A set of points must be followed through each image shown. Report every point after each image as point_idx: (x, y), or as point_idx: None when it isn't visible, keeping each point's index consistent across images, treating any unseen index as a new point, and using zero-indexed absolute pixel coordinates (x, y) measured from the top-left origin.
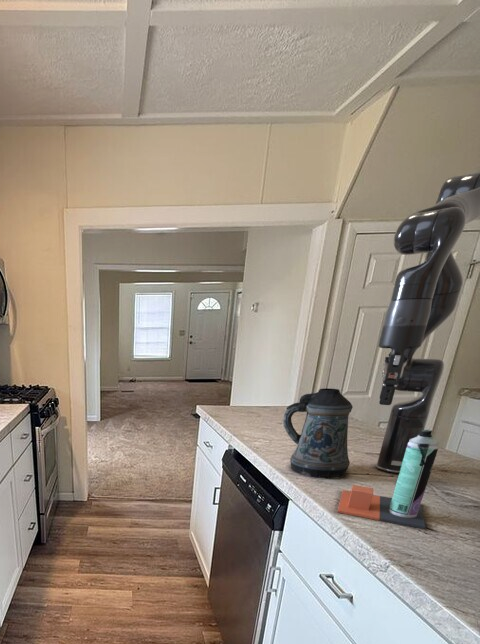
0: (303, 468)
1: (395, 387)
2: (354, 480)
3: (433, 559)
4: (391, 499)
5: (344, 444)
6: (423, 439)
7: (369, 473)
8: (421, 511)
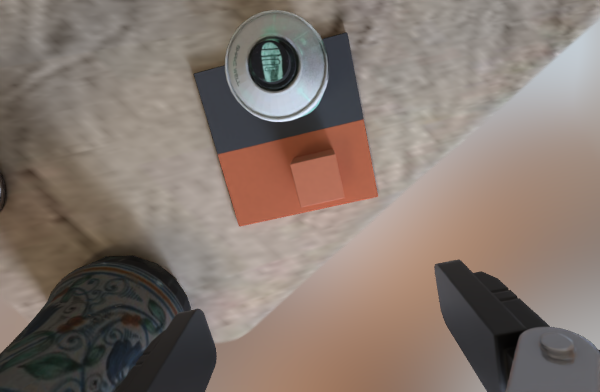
0: None
1: (500, 334)
2: (136, 228)
3: None
4: (221, 129)
5: (79, 314)
6: (307, 65)
7: (52, 217)
8: None
